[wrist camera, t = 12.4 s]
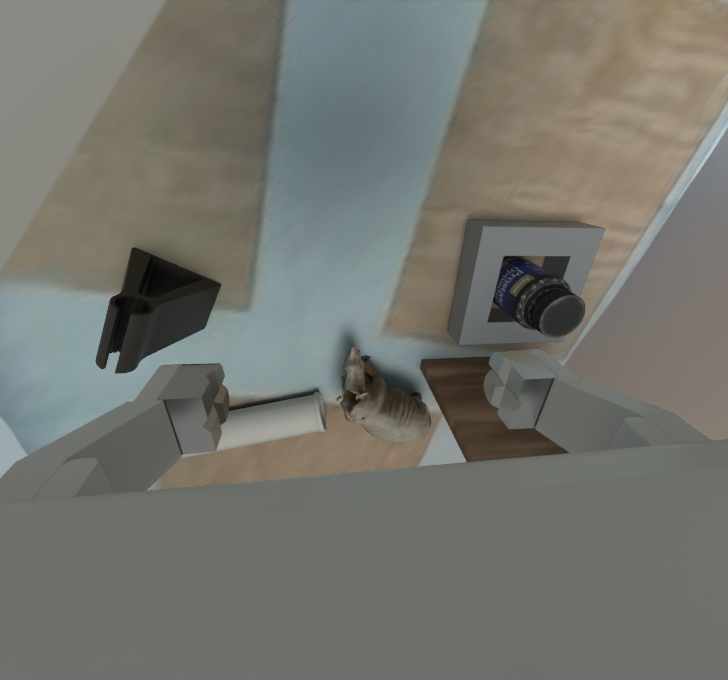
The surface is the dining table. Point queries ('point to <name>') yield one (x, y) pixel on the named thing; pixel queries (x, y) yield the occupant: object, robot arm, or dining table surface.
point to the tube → (271, 422)
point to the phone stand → (154, 310)
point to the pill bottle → (537, 298)
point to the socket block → (483, 263)
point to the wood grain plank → (479, 413)
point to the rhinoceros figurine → (381, 404)
